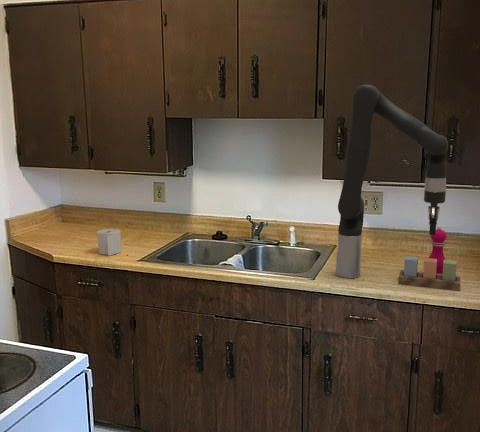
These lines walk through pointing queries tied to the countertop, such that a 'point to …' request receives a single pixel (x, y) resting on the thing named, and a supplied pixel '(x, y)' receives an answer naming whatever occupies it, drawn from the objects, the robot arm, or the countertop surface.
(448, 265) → the olive block
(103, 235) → the light grey block
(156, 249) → the countertop surface
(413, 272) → the slate block
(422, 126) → the robot arm
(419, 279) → the walnut board
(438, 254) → the pepper mill
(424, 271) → the terracotta block
